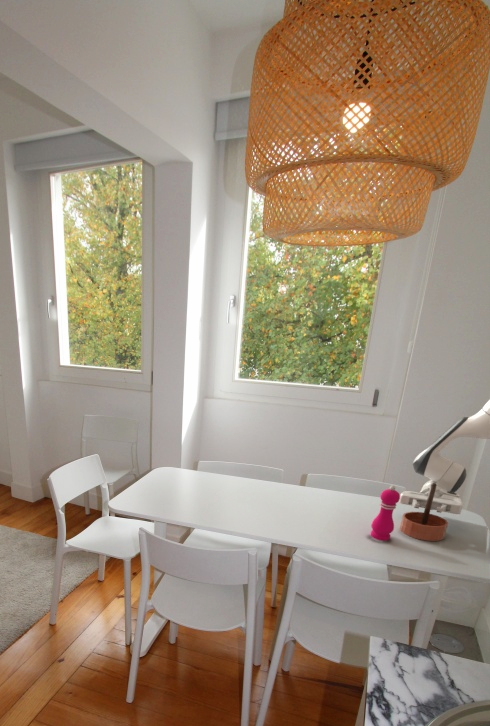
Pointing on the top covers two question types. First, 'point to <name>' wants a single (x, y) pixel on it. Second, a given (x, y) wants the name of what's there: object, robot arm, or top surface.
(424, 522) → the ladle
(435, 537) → the bowl
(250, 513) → the top surface
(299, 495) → the top surface
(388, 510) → the pepper mill
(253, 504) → the top surface
